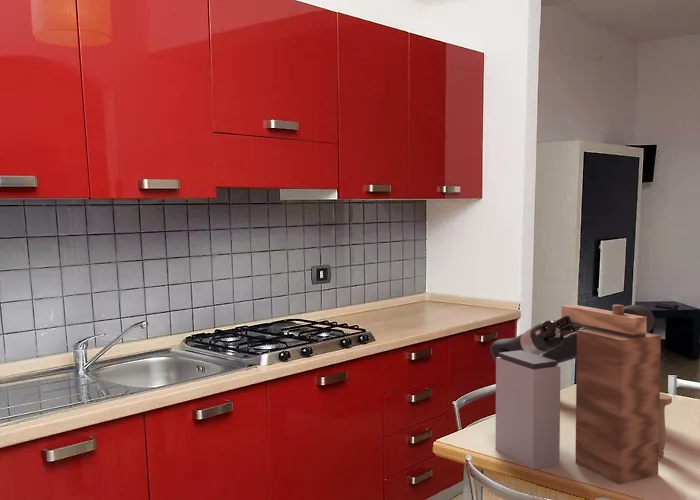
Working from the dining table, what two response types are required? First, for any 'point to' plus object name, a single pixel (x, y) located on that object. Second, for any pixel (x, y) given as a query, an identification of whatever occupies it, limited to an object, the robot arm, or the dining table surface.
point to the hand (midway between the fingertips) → (582, 318)
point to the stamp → (606, 320)
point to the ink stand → (528, 408)
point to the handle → (662, 421)
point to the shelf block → (618, 404)
